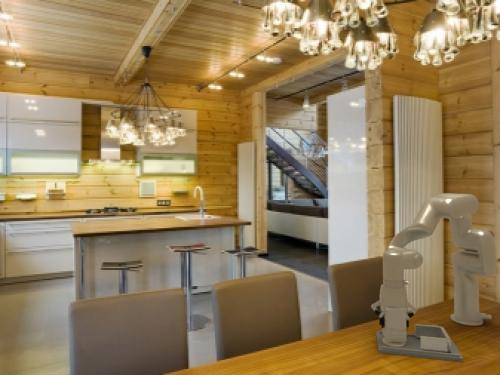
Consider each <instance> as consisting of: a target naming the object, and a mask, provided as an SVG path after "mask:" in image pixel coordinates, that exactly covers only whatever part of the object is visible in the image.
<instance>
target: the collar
mask: <svg viewBox="0 0 500 375" xmlns="http://www.w3.org/2000/svg"><path fill="white" fill-rule="evenodd" d="M414 334H415V337H416V338H420V350H424V351H434V352H443V353H451V339H452V338H451V337H450V336H449V334H448V332H447V330H446V329H445V328H444V326H443V325H442V326H440V325H431V324H419V323H415V324H414Z"/></svg>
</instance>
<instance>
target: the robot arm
mask: <svg viewBox="0 0 500 375" xmlns="http://www.w3.org/2000/svg"><path fill="white" fill-rule="evenodd" d="M478 208H479V199H478V198H477V197H476V195H474V194H471V193H470V194H469V193H454V192H453V193H452V192H451V193H449V192H446V193H445V192H444V193H443V192H442V193H439V194H437V195H435V196H432V197H428V198H426V199H425V200H424V202H423V203H422V205H421V207H420V208H419V211H418V212H417V213H416V216H415V217H414V219H413V221H412V223H411V224H410V225H408V226H407V227H405V228H403V229H402V230H400V231H399V232H398V233H396V235H394V236H393V238H392V239H391V241H390V242H389V244H388V246H387V248H386V250H385V251H384V252H383V253H382V284H381V285H380V289H379V299H378V300H377V301H376V302H374V303H372V304H371V305H370V307H371V309H372V310H373V312H374V313H375V314H376V315H377V316H378V319H379V320H378V322H379V323H378V324H379V326H381V329H382V328H384V319H383V315H384V312H385V307H388V308H404V309H406V331H408V328H410V320H411V319H412V317H414V315H415V314H416V313H417V311H418V308H417V307H416V306H414V305H413V304H411V303H409V301H408V299H409V298H408V294H407V293H408V292H407V287H406V285H409V280H405V270H417V269H418V268H420V267H421V266H422V265H423V262H424V257H423V254H421V252H420V251H417V250H415V249H412V248H406V246H407V245H409V244H410V243H411V242H414V241H417V240H421V239H426V238H429V237H430V236H432V235H433V234H434V232H435V230H436V228H437V226H438V225H439V222H440V220H441V219H448V220H449V226H450V232H451V238H452V242H453V245H454V247H456V248H458V249H461V250H457V251H456V250H455V251H454V252H453V253H452V255H451V264H452V265H451V266H452V270H453V293H454V294H453V295H454V296H453V300H454V302H453V305H454V306H453V308H454V309H453V313H451V315H450V320H451V321H453V322H454V323H457V324H460V325H464V326H472V327H473V326H474V327H477V326H481V325H483V324H484V320H492V317H493V316H492V315H491V314H487V313H485V312H481V311H480V288H479V287H480V285H479V284H480V283H479V279H478V278H477V275H478V276H482V277H493V276H494V275H495V274H496V272H497V271H498V260H497V250H496V244H495V238H494V236H493V235H492V233H491V232H490V231H488V230H485V229H480V228H479V229H478V228H474V226H473V221H472V216H471V215H474V214H475V213H476V211H478ZM378 306H379V308H380V310H379V309H378V308H377V307H378ZM409 308H410V309H411V310H410V312H409Z"/></svg>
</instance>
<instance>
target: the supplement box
mask: <svg viewBox="0 0 500 375" xmlns="http://www.w3.org/2000/svg"><path fill="white" fill-rule="evenodd" d="M383 319H384V328H382V327H381V331H382V333H383V335H384V337H385V338H386V340H387V341H388V342H407V334H408V333H407V330H406V309H404V308H388V307H385V312H384V315H383ZM406 333H407V334H406Z"/></svg>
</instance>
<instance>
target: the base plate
mask: <svg viewBox="0 0 500 375" xmlns="http://www.w3.org/2000/svg"><path fill="white" fill-rule="evenodd" d="M406 334H407V342H388V341H387V340H386V338H385V337H384V335H383V333H382V330H378V331H376V332H375V336H376V341H377V342H376V343H377V349H378V353H379V354H386V355H387V354H389V355H397V356H404V357H405V356H406V357H415V358H424V359H430V360H431V359H433V360H440V361H441V360H442V361H450V362H451V361H452V362H458V363H459V362H460V363H464V357H463V355H462V353H460V351H459V349H458V348H457V345H456V344H455V343H454V341H453V339H452V338H450V339H451V353H443V352H434V351H424V350H420V338H416V337H415V333H407V332H406Z"/></svg>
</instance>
